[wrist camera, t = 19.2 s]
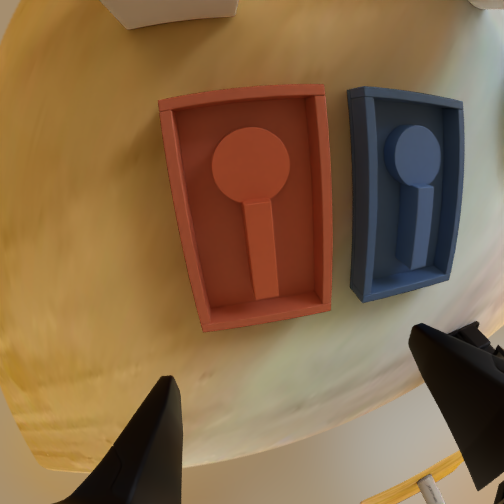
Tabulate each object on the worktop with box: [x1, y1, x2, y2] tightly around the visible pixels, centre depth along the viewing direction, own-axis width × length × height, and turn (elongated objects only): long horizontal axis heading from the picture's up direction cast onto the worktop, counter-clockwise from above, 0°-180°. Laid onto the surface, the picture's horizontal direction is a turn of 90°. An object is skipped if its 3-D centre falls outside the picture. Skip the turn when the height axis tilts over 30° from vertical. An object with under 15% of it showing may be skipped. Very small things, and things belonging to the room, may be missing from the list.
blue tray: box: [347, 86, 464, 303], centre depth 19 cm, size 15×9×2 cm, turn 6°
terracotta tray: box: [158, 84, 332, 332], centre depth 18 cm, size 15×9×2 cm, turn 6°
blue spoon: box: [384, 125, 441, 270], centre depth 19 cm, size 11×5×2 cm, turn 6°
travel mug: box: [417, 474, 446, 504], centre depth 58 cm, size 6×7×20 cm
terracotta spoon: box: [211, 127, 290, 300], centre depth 18 cm, size 11×5×2 cm, turn 6°
